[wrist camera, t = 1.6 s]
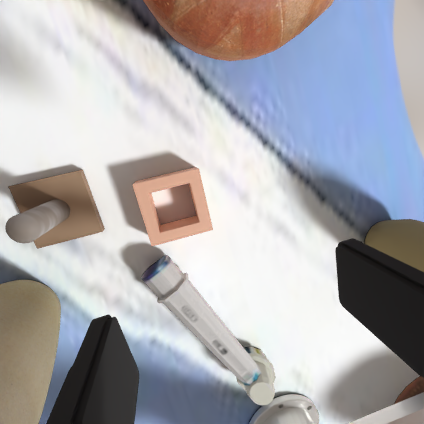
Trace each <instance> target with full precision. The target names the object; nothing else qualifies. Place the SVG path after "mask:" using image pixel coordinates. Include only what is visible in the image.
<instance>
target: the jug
mask: <svg viewBox="0 0 424 424" xmlns="http://www.w3.org/2000/svg"><path fill="white" fill-rule="evenodd" d="M143 1H144V2H145V4H146V5H147V7H148V8H149V10H150V11H151V12H152V14H153V15H154V17H155V18H156V20H157V21H158V22H159V24H160V25H161V26H162V27H163V28H164V29H165V30H166V31H167V32H168V33H169V34H170V35H171V36H172V37H173V38H174V39H175V40H176V41H177V42H179V43H181V44H182V45H184V46H186V47H187V48H189V49H191V50H192V51H194V52H195V53H198V54H201V55H204V56H207V57H210V58H213V59H218V60H226V61H235V60H246V59H252V58H256V57H259V56H261V55H264V54H267V53H270V52H272V51H274V50H276V49H278V48H280V47H281V46H283V45H284V44H286V43H287V42H288V41H290V40H291V39H293V38H294V37H295V36H297V35H298V34H300V33H301V32H302V31H303V30H304V29H305V28H306V27H308V26H309V25H310V24H311V23H312V22H313V21H314V20H315V19H316V18H317V17H319V16H320V15H321V14H322V13H323V12H324V11H325V10H326V9H327V8H328V7H330V6H331V5H332V3H333V1H334V0H143Z"/></svg>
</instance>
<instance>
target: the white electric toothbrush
mask: <svg viewBox="0 0 424 424" xmlns="http://www.w3.org/2000/svg"><path fill="white" fill-rule="evenodd" d="M141 279H142V280H143V281H144V282H145V283H146V284H147V285H148V287H149V288H150V289H151V290H152V291H153V292H154V293H155V294H156V296H157V297H158V300H157V302H158V303H164V304H165V305H166V306H167V307H168V308H169V309H170V310H171V311H172V312H173V313H174V314H175V315H176V316H177V317H178V318H179V319H180V320H181V321H182V322H183V323H184V324H185V325H186V326H187V327H188V328H189V329H190V330H191V331H192V332H193V333H194V334H195V335H196V336H197V337H198V338H199V340H200V341H201V342H202V343H203V344H204V345H205V346H206V347H207V348H208V349H209V350H210V351H211V352H212V353H213V354H214V355H215V356H216V357H217V358H218V359H219V360H220V361H221V362H222V363H223V364H224V365H225V366H226V367H227V368H228V369H229V370H230V371H231V372H232V373H233V374H234V375H235V376H236V378H237V382H238V383H239V385H240V386H241V387H242V388H243V389H244V390H245V391H246V392H247V395H248V396H249V397H250V398H251V399H252V400H253V402H254V403H256V404H258V405H268V404H269V403H270V402H272V401H273V398H274V395H275V389H274V384H273V383H274V380H275V373H274V368H273V365H272V364H271V363H270V361H269V360H268V359H267V358H266V356H265V354H264V353H263V352H262V351H261V349H256V348H254V347H252V346H251V347H246V348H243V346H242V345H241V344H240V343H239V342H238V340H237V339H236V338H235V337H234V335H233V334H232V333H231V332H230V330H229V329H228V328H227V327H226V325H225V324H224V323H223V322H222V321H221V319H220V318H219V317H218V316H217V314H216V313H215V312H214V311H213V309H212V308H211V307H210V306H209V304H208V303H207V302H206V301H205V300H204V298H203V297H202V296H201V295H200V293H199V292H198V291H197V290H196V288H195V287H194V286H193V285H192V283H191V282H190V281H189V280H188V274H187V273H184V274H183V273H182V271H181V270H180V269H179V268H178V267H177V266H176V264H175V263H174V262H173V261H172V260H171V258H170V257H169V256H168V255H166V256H163V257H162V258H161V259H159V260H158V261H157V262H155V263H154V264H153V265H151V266H150V267H149V268H148V269H147V270H146V271H145V272H144V273H143V276H142V278H141Z"/></svg>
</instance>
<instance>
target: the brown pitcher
mask: <svg viewBox="0 0 424 424" xmlns="http://www.w3.org/2000/svg"><path fill="white" fill-rule="evenodd" d="M423 392H424V378H423V377H421V376H420V377H418V378H416V379H415V380H414V381H413V382H412V383H410V384H409V385H408V386H407V387H406V388H405V389H404V390H403V391H402V393H401V394H400V395H399V396H398V398H397V400H396V401H395V403H394V404H396V403H398V402H401V401H403V400H406V399H408V398H411V397H413V396H416V395H418V394H421V393H423Z"/></svg>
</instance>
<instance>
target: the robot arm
mask: <svg viewBox="0 0 424 424" xmlns="http://www.w3.org/2000/svg"><path fill="white" fill-rule="evenodd" d="M336 263H337V277H338V291H339V300H340V303H341V304H342V306H343V307H344V308H345V309H346V310H347V311H348V312H349V313H351V314H352V315H353V316H354V317H355V318H356V319H357V320H358V321H359V322H361V323H362V324H363V325H364V326H365V327H366V328H367V329H368V330H370V331H371V332H372V333H373V334H374V335H375V336H376V337H377V338H378V339H380V340H381V341H382V342H383V343H384V344H385V345H386V346H387V347H389V348H390V349H391V350H392V351H393V352H394V353H395V354H396V355H397V356H399V357H400V358H401V359H402V360H403V361H404V362H405V363H406V364H407V365H409V366H410V367H411V368H412V369H413V370H414V371H415V372H416V373H418V374H419V375H420V376H421V377H423V378H424V272H422V271H420V270H418V269H416V268H414V267H412V266H410V265H408V264H406V263H404V262H401V261H399V260H397V259H395V258H393V257H391V256H389V255H387V254H385V253H383V252H381V251H379V250H377V249H375V248H373V247H370V246H368V245H366V244H364V243H362V242H360V241H358V240H356V239H349V240H346V241H342V242H340V243H339V244H338V247H336ZM138 384H139V371H138V368H137V365H136V363H135V360H134V358H133V356H132V353H131V351H130V349H129V346H128V344H127V342H126V339H125V337H124V335H123V332H122V330H121V328H120V325H119V323H118V321H117V319H116V317H111V316H110V315H106V316H102V317H99V318H96V319H93V320H92V322H91V324H90V326H89V328H88V331H87V333H86V336H85V338H84V340H83V343H82V345H81V348H80V350H79V352H78V355H77V357H76V359H75V362H74V364H73V366H72V367H71V368H70V370H69V372H68V374H67V377H66V379H65V381H64V384H63V386H62V388H61V391H60V393H59V395H58V398H57V400H56V402H55V405H54V407H53V409H52V412H51V414H50V416H49V419H48V421H47V423H46V424H134V421H135V411H136V402H137V393H138ZM318 423H319V414H318V411H317V409H316V407H315V405H314V404H313V402H312V401H311V400H310V399H308V398H307V397H304V396H302V395H297V394H289V395H283V396H280V397H277V398H274V399H273V401H272V402H270V403H269V404H268V405H263V406H262V407H261V408H260V409H258V411H257V412H256V413H255V414H254V416H253V417H252V419H251V421H250V423H249V424H318ZM347 424H424V392H423V393H421V394H418V395H416V396H413V397H411V398H408V399H406V400H403V401H401V402H398V403H396V404H394V405H391V406H389V407H386V408H384V409H381V410H379V411H376V412H374V413H372V414H369V415H367V416H364V417H362V418H359V419H357V420H355V421H352V422H350V423H347Z"/></svg>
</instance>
